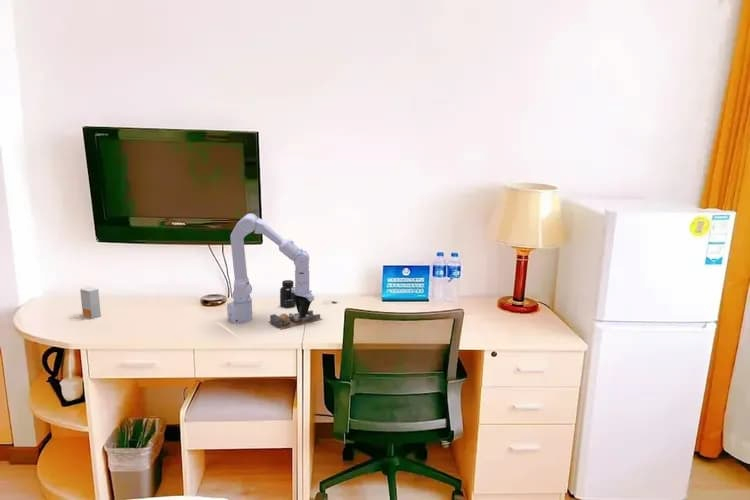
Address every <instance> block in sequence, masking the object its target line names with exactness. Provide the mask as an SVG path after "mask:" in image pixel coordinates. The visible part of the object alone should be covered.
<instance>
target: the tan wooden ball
mask: <svg viewBox="0 0 750 500" xmlns="http://www.w3.org/2000/svg"><path fill="white" fill-rule="evenodd" d="M278 316H279V317H280V318H282V324H283V323H285V322H288V320H289V314H286V313H281V314H280V315H278Z"/></svg>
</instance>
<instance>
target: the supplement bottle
mask: <svg viewBox="0 0 750 500" xmlns="http://www.w3.org/2000/svg"><path fill="white" fill-rule="evenodd" d="M281 282H282V283H281V284H282V287H280V289H279V306H280V308H283V309H292V308H295V307H296V304H295V301H294V299H293V298H292V296H294V295H295V293H292V292H291V288H293V287H295V285H294V284H295V283H294V281H293V280H291V279H285V280H282V281H281Z"/></svg>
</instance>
